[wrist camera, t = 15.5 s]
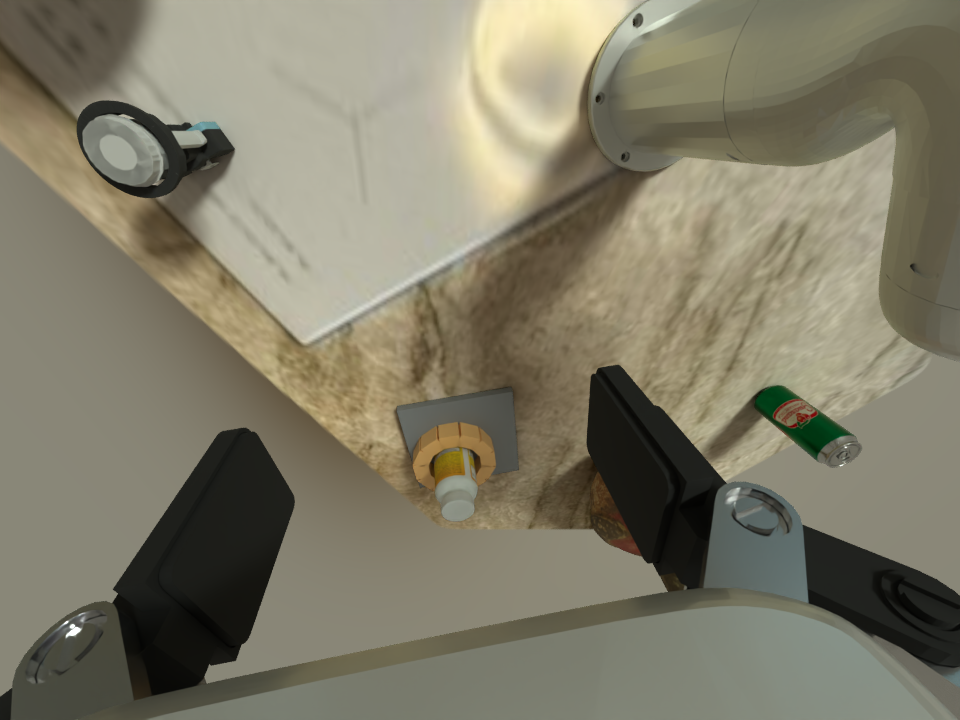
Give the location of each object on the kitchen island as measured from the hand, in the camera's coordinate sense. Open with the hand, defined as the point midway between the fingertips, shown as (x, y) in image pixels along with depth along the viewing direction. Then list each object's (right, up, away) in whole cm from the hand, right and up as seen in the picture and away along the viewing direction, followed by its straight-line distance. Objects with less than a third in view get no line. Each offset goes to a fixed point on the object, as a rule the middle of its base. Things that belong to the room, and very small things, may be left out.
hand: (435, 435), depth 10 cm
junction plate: (-1, -9, +41) cm, 42 cm away
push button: (-23, +20, +20) cm, 36 cm away
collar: (-3, -10, +42) cm, 43 cm away
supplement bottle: (-3, -11, +41) cm, 43 cm away
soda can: (+45, -3, +45) cm, 64 cm away
